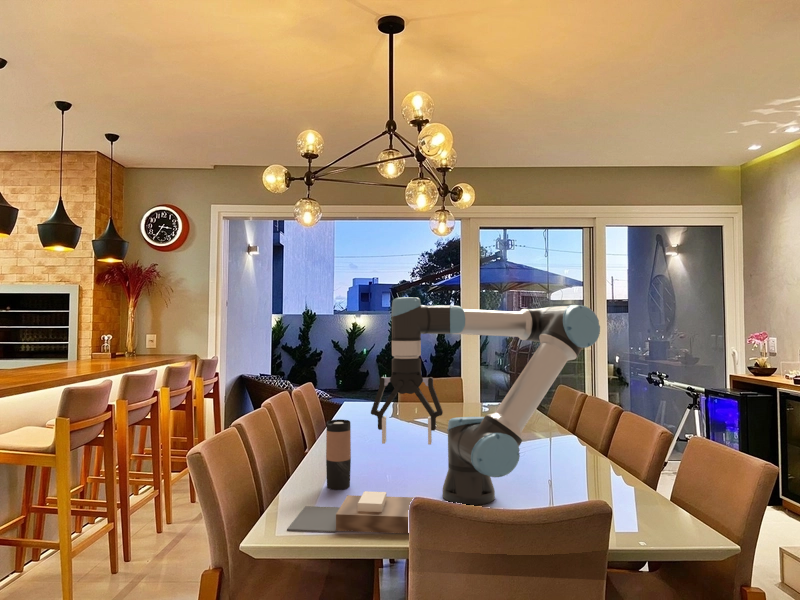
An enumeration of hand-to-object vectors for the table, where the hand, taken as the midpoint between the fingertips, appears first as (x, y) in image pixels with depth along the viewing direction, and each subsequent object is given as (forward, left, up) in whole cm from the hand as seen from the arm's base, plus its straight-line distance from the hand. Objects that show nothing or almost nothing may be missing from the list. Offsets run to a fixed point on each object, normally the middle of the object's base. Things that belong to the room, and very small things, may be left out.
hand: (406, 442), depth 133 cm
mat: (+23, 0, -20) cm, 30 cm away
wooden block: (+7, 0, -20) cm, 21 cm away
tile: (+9, 0, -16) cm, 18 cm away
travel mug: (+24, -27, -20) cm, 41 cm away
